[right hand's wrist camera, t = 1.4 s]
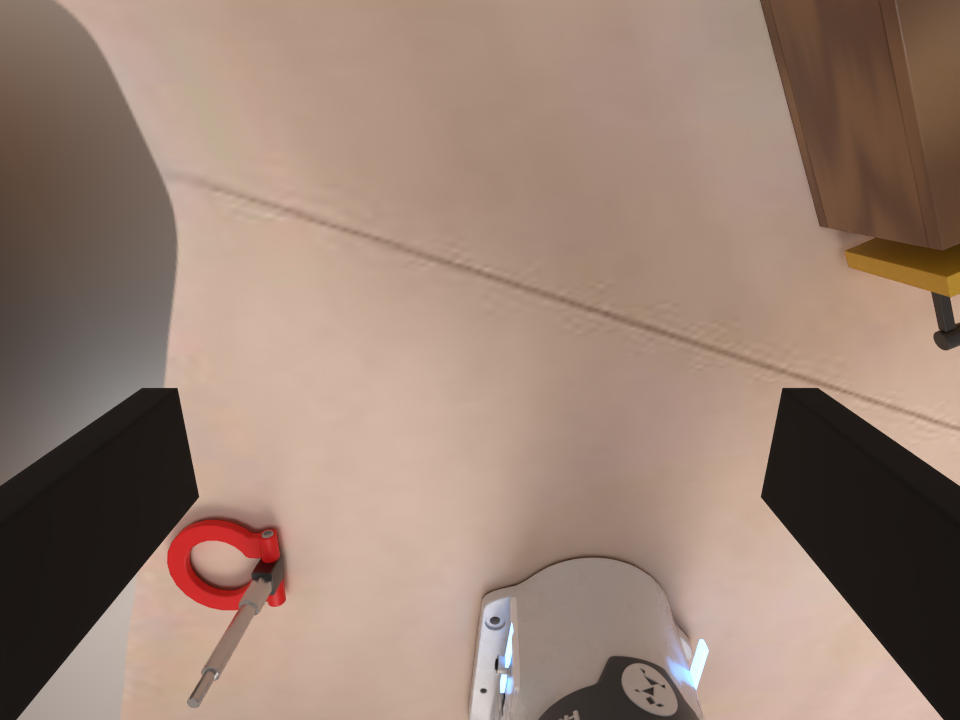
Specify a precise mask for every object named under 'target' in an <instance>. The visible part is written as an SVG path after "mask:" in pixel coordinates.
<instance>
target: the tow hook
mask: <svg viewBox="0 0 960 720" xmlns="http://www.w3.org/2000/svg"><path fill="white" fill-rule="evenodd" d="M204 541H221V542H226V543H228V544H230V545H232V546H234V547H236V548H237V549H239V550H240V551H241V552H242V553H243V554H244V555H245V556H246V557H248V558H261V559H260V561H259V562H258V564H257V565H256V567H255V569H254V570H253V572H252V580H251V582H250V583H249V584H248V585H247V586H245V587H243V588H241V589H238V590H233V591H224V590H220V589H215V588H213V587H211V586H209V585H207V584H206V583H204V582H203V581H201V580H200V579H199V578H198V577H197V576H196V575H195V573H194V571H193V569H192V568H191V564H190V552H191V549H192V547H193V546H195V545H197V544H198V543H200V542H204ZM167 564H168V568H169V571H170V575H171V576H172V578H173V580H174V582H175V583H176V585H177V586H178V587H179V588H180V589H181V590H182V591H183V592H184V593H185V594H186V595H187V596H189V597H190V598H191V599H193V600H194V601H196V602H198V603H200V604H202V605H205V606H207V607H210V608H214V609H219V610H238V609H239V610H238V611H237V613H236V615H235V616H234V618H233V620H232V621H231V623H230V625H229V626H228V628H227V630H226V631H225V633H224V635H223V636H222V638H221V640H220V641H219V643H218V645H217V646H216V648H215V649H214V651H213V653H212V654H211V656H210V658H209V659H208V661H207V663H206V664H205V666H204V668H203V669H202V677H201V679H200V681H199V682H198V684H197V686H196V687H195V689H194V691H193V692H192V694H191V696H190V697H189V699H188V701H187V703H188V705H189V706H190V707H192V708H197V707H199V705H200V704H201V702H202V700H203V698H204V697H205V695H206V693H207V691H208V690H209V688H210V686H211V684H212V683H213V681H215V680H217V679H218V678H219V677H220V675H221V673H222V672H223V670H224V668H225V666H226V664H227V663H228V661H229V659H230V657H231V656H232V654H233V652H234V650H235V648H236V647H237V645H238V643H239V641H240V640H241V638H242V636H243V634H244V633H245V631H246V629H247V627H248V625H249V624H250V622H251V620H252V618H253V617H254V616H255V615H257V614H258V613H259V612H260V611H261V609H262V607H263V605H264V604H265V602H268V604H269V605H270V606H272V607H277V606H280V605H282V604H283V603H284V602H285V600H286V596H285V589H284V581H283V578H284V571H283V564H282V557H281V554H280V552H279V544H278V537H277V531H276V530H274V529H266V530H264V531H262V532H260V533H251V532H250V531H248V530H247V529H245V528H243V527H241V526H238V525H236V524H234V523H231V522H226V521H221V520H204V521H200V522H196V523H193V524H191V525H190V526H188V527H186V528H184V529H183V530H182V531H181V532H180V533H179V535H178V536H177V537H176V538H175V539H174V540H173V541H172V543H171V545H170V548H169V550H168V558H167Z"/></svg>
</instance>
